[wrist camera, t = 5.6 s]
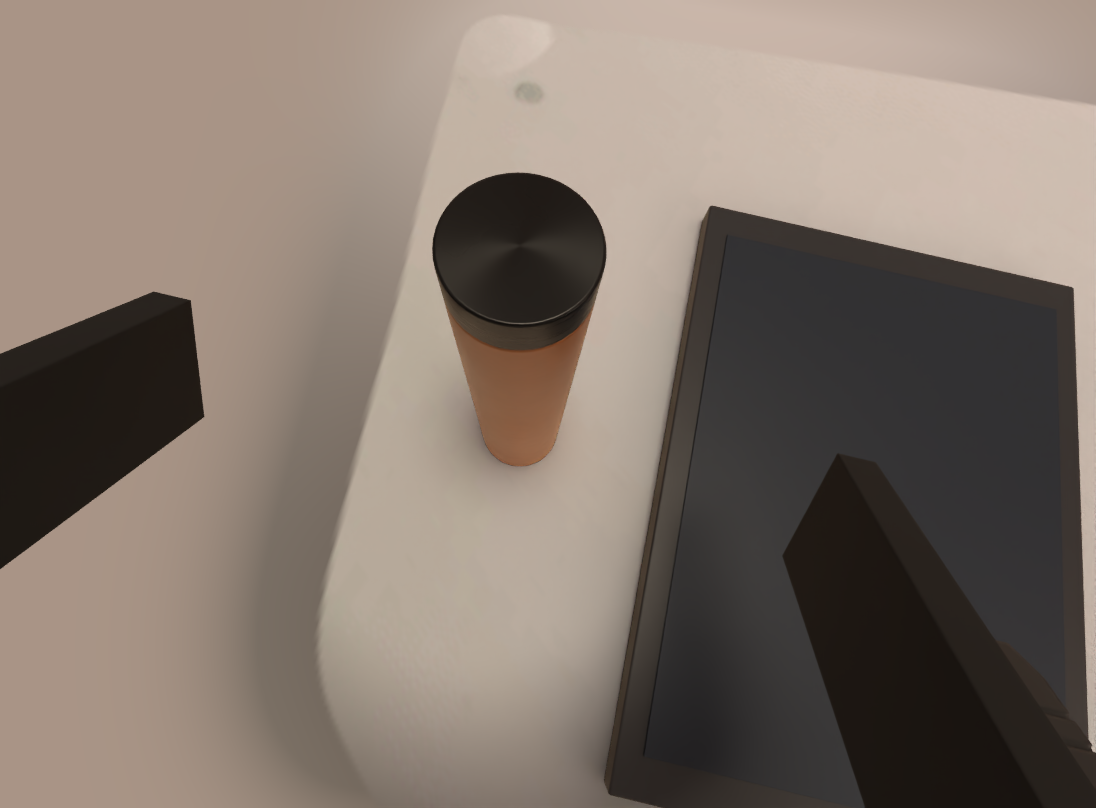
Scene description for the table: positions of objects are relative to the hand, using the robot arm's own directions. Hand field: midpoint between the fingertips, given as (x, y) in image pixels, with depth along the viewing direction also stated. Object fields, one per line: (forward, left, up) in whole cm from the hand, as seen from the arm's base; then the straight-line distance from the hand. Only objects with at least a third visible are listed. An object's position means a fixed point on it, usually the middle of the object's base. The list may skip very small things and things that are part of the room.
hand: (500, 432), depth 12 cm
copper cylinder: (0, +2, -8) cm, 8 cm away
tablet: (+12, +2, -8) cm, 15 cm away
